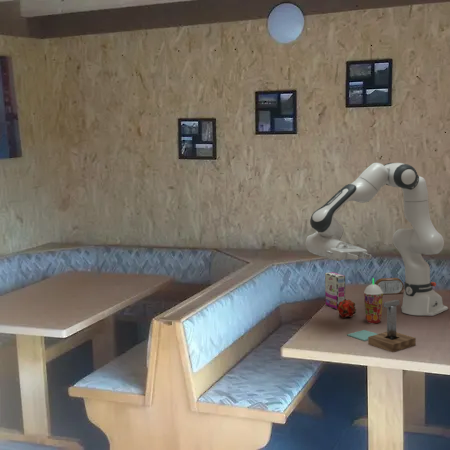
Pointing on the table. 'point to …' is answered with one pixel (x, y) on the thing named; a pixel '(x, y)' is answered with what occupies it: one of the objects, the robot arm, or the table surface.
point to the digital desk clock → (390, 285)
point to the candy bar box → (334, 289)
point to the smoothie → (373, 303)
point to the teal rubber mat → (362, 335)
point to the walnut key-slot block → (392, 341)
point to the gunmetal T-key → (391, 318)
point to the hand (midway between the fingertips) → (364, 257)
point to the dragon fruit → (346, 308)
